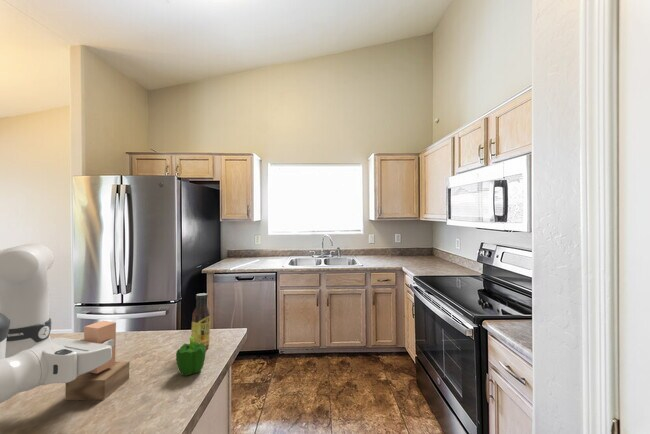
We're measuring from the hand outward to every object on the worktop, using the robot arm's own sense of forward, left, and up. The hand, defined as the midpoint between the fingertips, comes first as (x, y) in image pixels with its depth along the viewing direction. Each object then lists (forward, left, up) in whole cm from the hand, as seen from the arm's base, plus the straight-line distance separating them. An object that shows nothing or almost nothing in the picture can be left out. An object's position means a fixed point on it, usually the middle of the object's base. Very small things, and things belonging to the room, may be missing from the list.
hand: (103, 340), depth 82 cm
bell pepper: (+21, +8, -13) cm, 26 cm away
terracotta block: (0, -1, -7) cm, 7 cm away
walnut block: (0, -1, -13) cm, 13 cm away
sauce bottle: (+18, +24, -13) cm, 33 cm away
